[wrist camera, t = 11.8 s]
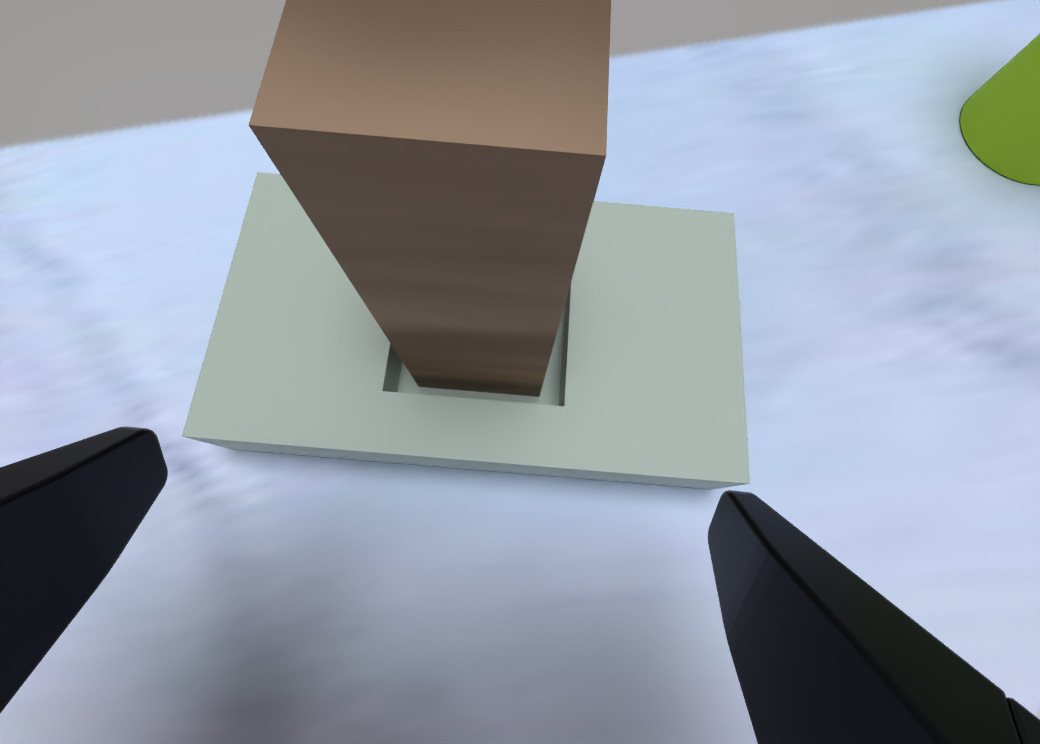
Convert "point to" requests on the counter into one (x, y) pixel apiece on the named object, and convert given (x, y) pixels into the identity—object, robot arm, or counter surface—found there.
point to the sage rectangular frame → (480, 415)
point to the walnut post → (446, 167)
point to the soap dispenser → (1008, 118)
